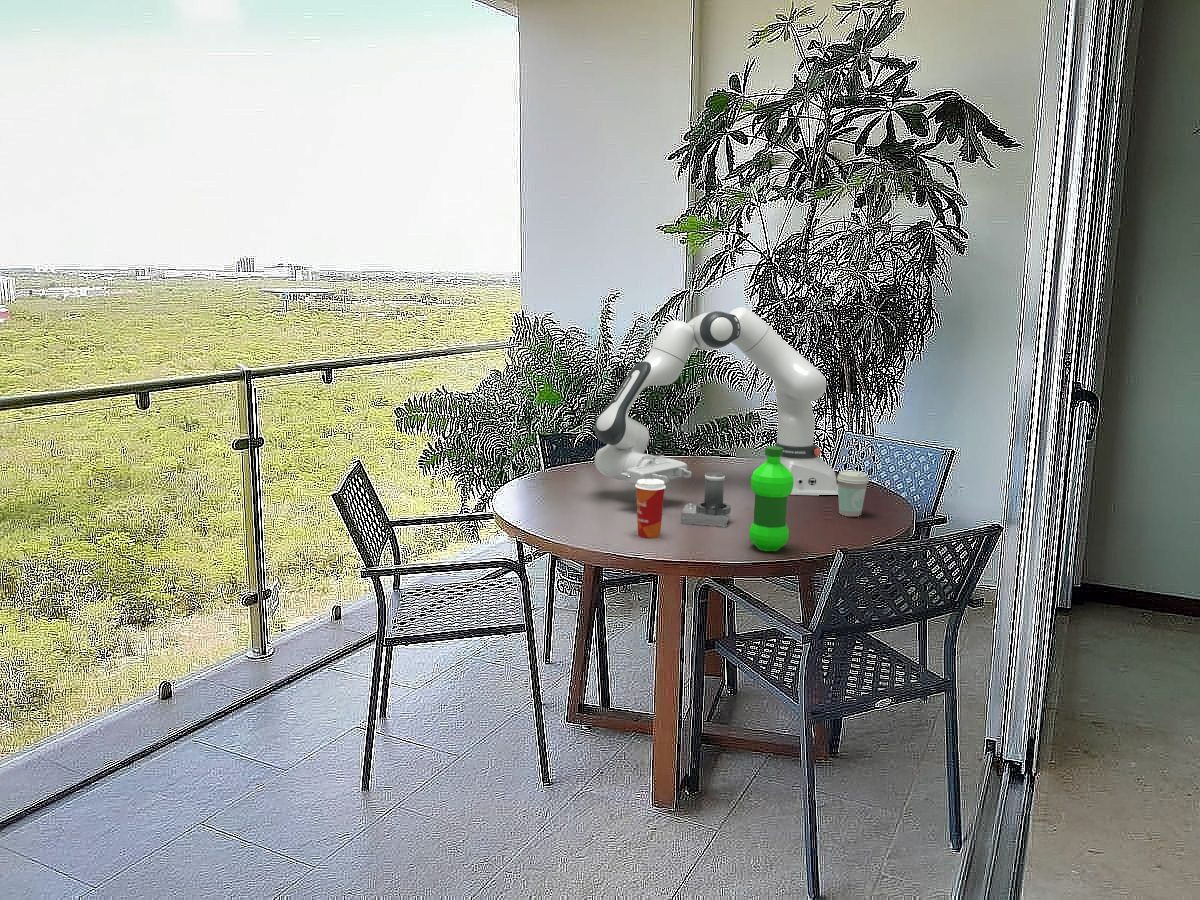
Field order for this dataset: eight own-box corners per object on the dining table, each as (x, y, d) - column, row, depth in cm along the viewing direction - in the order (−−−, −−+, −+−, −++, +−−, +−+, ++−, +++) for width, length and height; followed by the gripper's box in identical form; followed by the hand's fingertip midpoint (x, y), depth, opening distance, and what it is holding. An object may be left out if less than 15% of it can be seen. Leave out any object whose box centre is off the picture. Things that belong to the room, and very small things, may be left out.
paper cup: (632, 530, 239) (633, 477, 236) (661, 530, 239) (663, 477, 237) (635, 539, 231) (637, 485, 228) (666, 539, 232) (668, 485, 229)
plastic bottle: (795, 554, 222) (801, 452, 217) (751, 554, 221) (757, 451, 216) (783, 542, 232) (789, 444, 227) (742, 542, 231) (747, 443, 226)
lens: (724, 509, 250) (725, 473, 249) (721, 514, 246) (723, 477, 244) (704, 507, 252) (706, 471, 250) (702, 512, 247) (704, 475, 245)
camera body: (731, 518, 252) (732, 502, 252) (727, 527, 244) (728, 510, 243) (685, 514, 255) (686, 499, 254) (680, 523, 247) (681, 507, 246)
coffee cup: (848, 520, 253) (852, 477, 251) (827, 513, 261) (830, 471, 258) (872, 517, 257) (875, 475, 255) (851, 510, 265) (854, 469, 262)
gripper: (616, 463, 257) (655, 471, 247) (664, 453, 271) (702, 461, 262) (616, 485, 258) (654, 494, 248) (663, 474, 272) (701, 483, 263)
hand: (679, 477), depth 255 cm, fingers open, 8 cm apart
